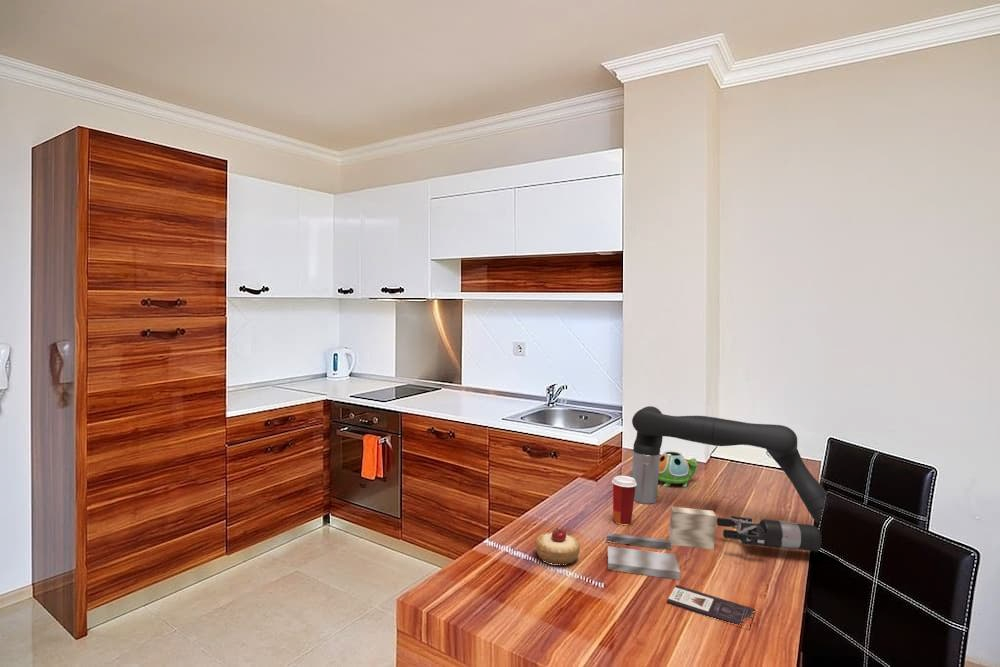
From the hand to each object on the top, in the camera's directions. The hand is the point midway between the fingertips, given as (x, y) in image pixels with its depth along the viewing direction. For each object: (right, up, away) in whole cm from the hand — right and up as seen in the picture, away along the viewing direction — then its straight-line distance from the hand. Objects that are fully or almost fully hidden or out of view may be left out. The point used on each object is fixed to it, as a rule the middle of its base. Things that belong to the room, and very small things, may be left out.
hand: (720, 527), depth 160 cm
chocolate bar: (-15, -8, -32) cm, 36 cm away
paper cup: (-25, -4, +16) cm, 30 cm away
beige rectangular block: (-8, -6, +2) cm, 10 cm away
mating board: (-25, -5, -9) cm, 27 cm away
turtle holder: (+5, -3, +57) cm, 57 cm away
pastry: (-49, -5, -10) cm, 50 cm away
